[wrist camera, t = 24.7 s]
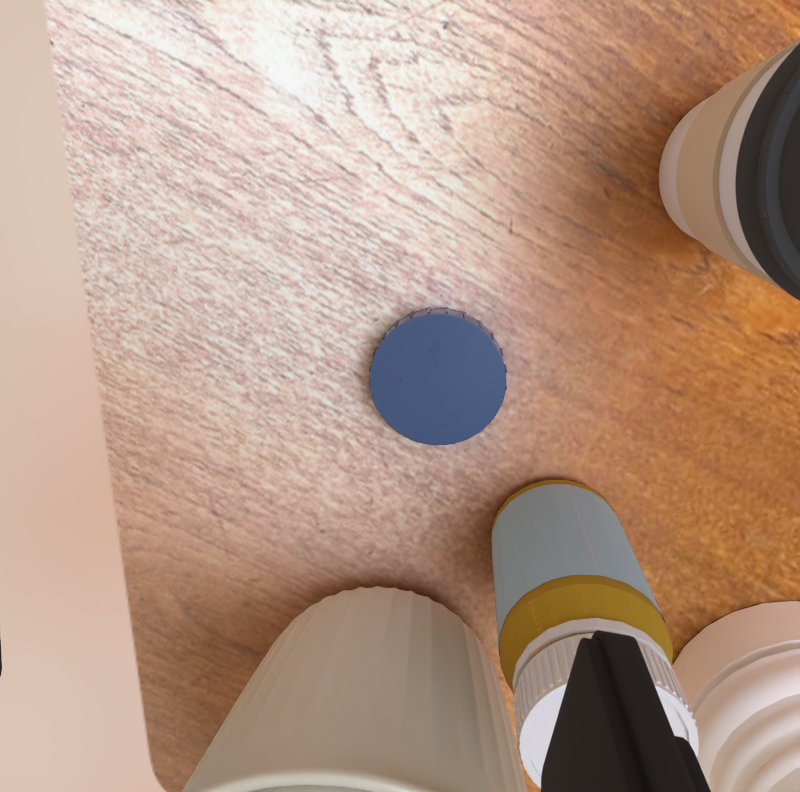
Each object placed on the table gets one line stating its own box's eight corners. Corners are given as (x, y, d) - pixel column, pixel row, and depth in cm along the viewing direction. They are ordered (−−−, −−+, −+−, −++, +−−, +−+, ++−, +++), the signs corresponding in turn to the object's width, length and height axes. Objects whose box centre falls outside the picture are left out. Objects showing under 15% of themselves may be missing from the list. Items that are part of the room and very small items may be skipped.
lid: (483, 448, 36) (484, 461, 35) (359, 415, 36) (354, 426, 35) (522, 326, 34) (525, 334, 32) (390, 291, 34) (386, 297, 32)
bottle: (621, 474, 36) (724, 667, 22) (613, 586, 38) (702, 829, 24) (491, 473, 37) (507, 659, 22) (490, 583, 39) (504, 817, 24)
